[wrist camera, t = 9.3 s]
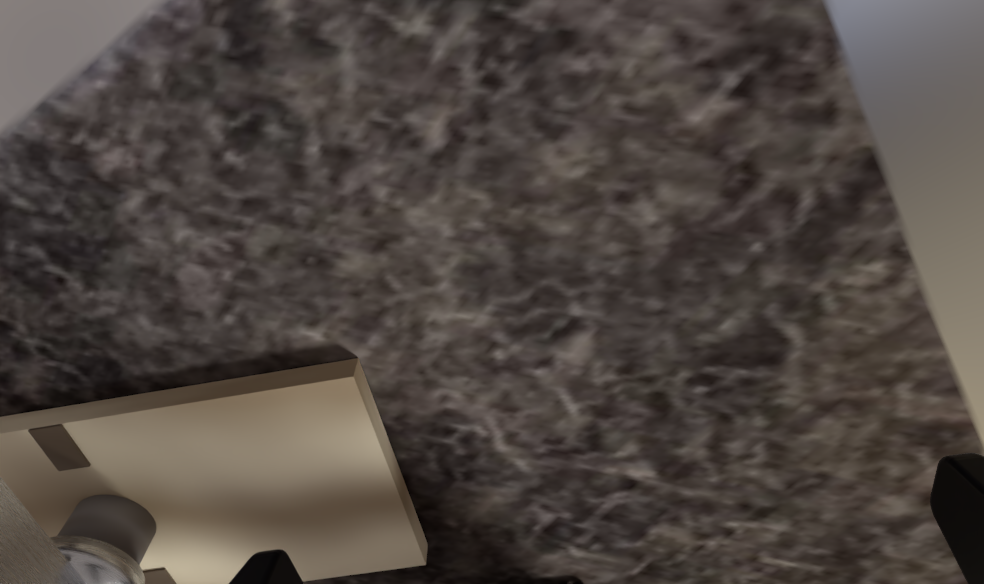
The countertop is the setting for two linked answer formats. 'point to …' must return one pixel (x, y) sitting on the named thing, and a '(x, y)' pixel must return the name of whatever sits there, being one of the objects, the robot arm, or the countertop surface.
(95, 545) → the grey rectangular bar
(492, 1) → the countertop surface
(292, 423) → the post board
